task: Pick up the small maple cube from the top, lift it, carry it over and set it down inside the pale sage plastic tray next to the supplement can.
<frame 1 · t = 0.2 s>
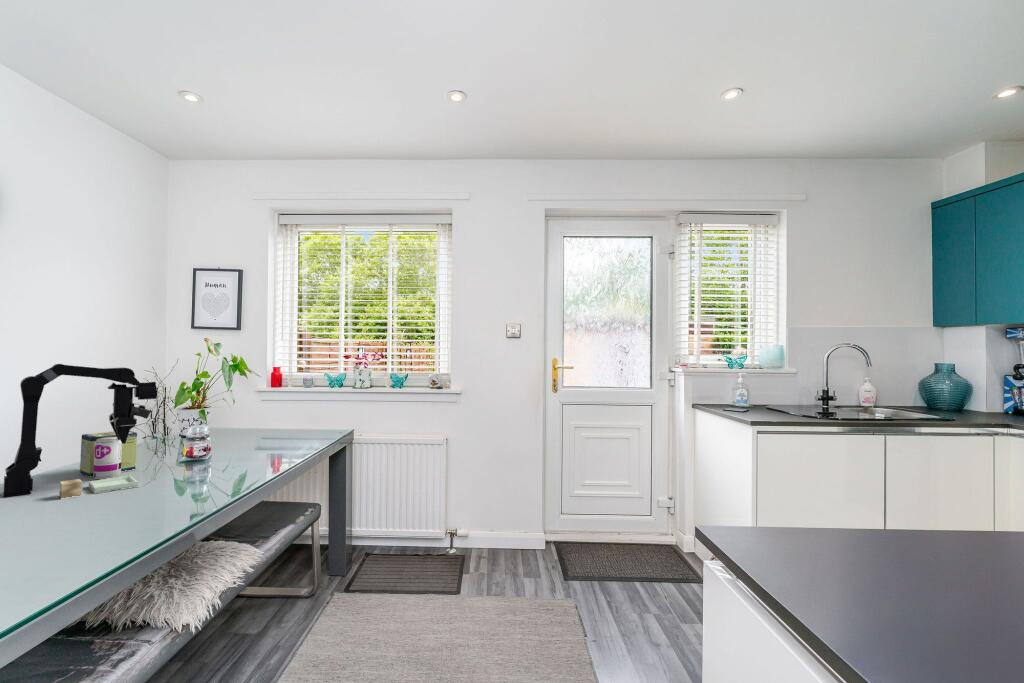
hand: (121, 441, 187), 15 cm above the table, tool pointing down, fingers open, 9 cm apart
protein box: (108, 472, 199), on the table
maple cube: (70, 496, 166), on the table
tray: (113, 487, 177), on the table
supplement can: (107, 477, 190), on the table, touching gripper
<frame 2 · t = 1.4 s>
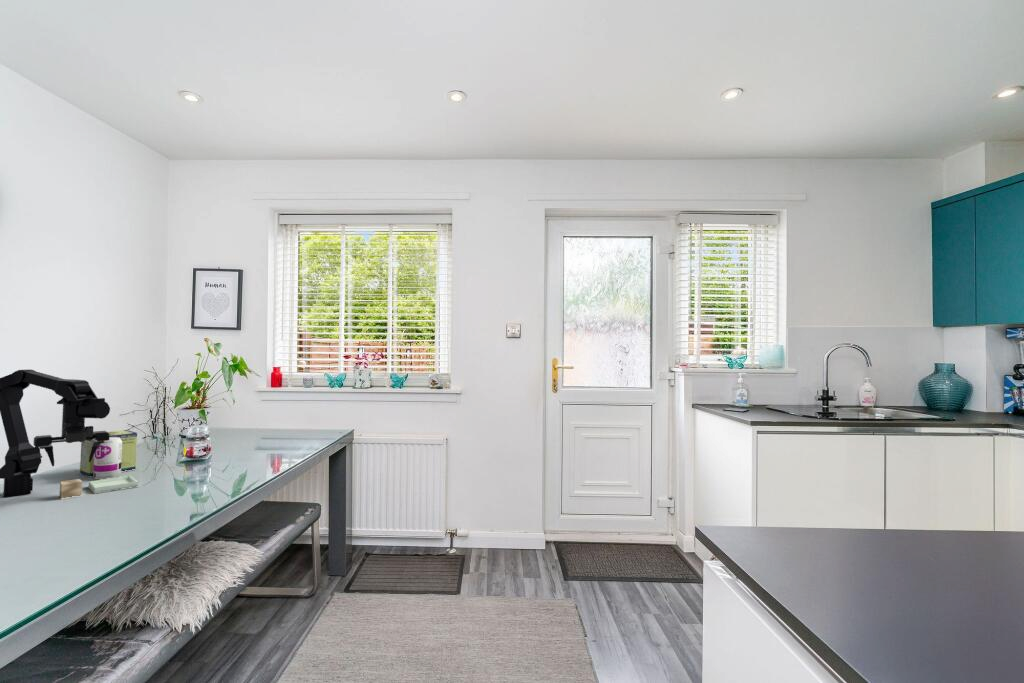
hand: (71, 464, 166), 11 cm above the table, tool pointing down, fingers open, 9 cm apart
supplement can: (107, 478, 190), on the table
everything else where it was.
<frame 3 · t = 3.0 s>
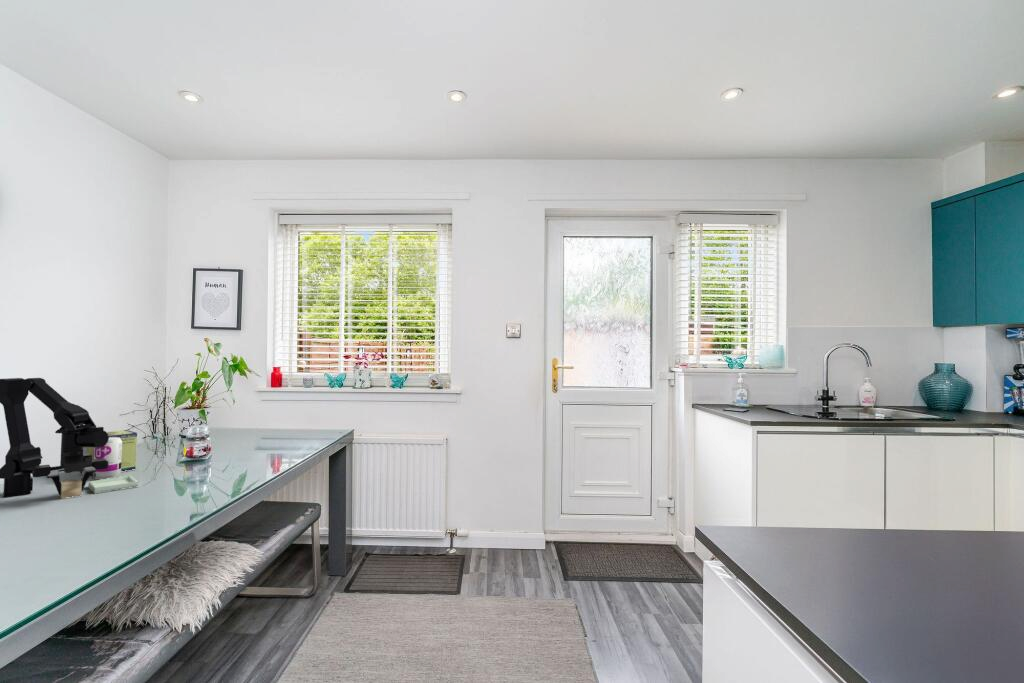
hand: (70, 493, 166), 1 cm above the table, tool pointing down, fingers closed on maple cube, 5 cm apart
maple cube: (70, 496, 166), on the table, touching gripper
everything else where it was.
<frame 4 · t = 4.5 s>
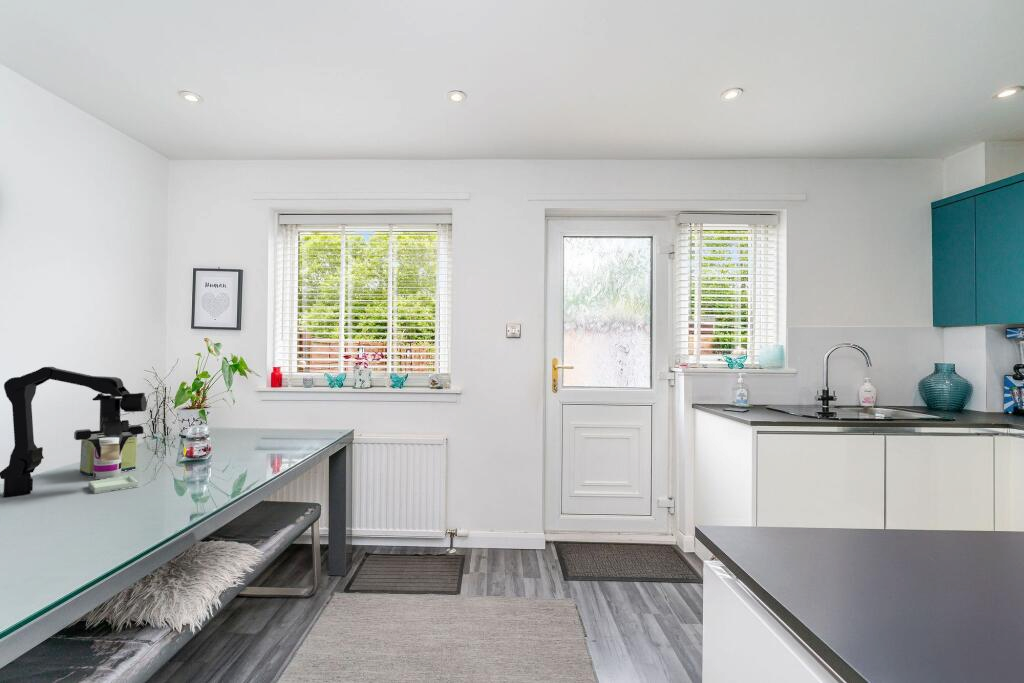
hand: (109, 456, 176), 11 cm above the table, tool pointing down, fingers closed on maple cube, 5 cm apart
maple cube: (109, 459, 175), point 10 cm above the table, touching gripper
everything else where it was.
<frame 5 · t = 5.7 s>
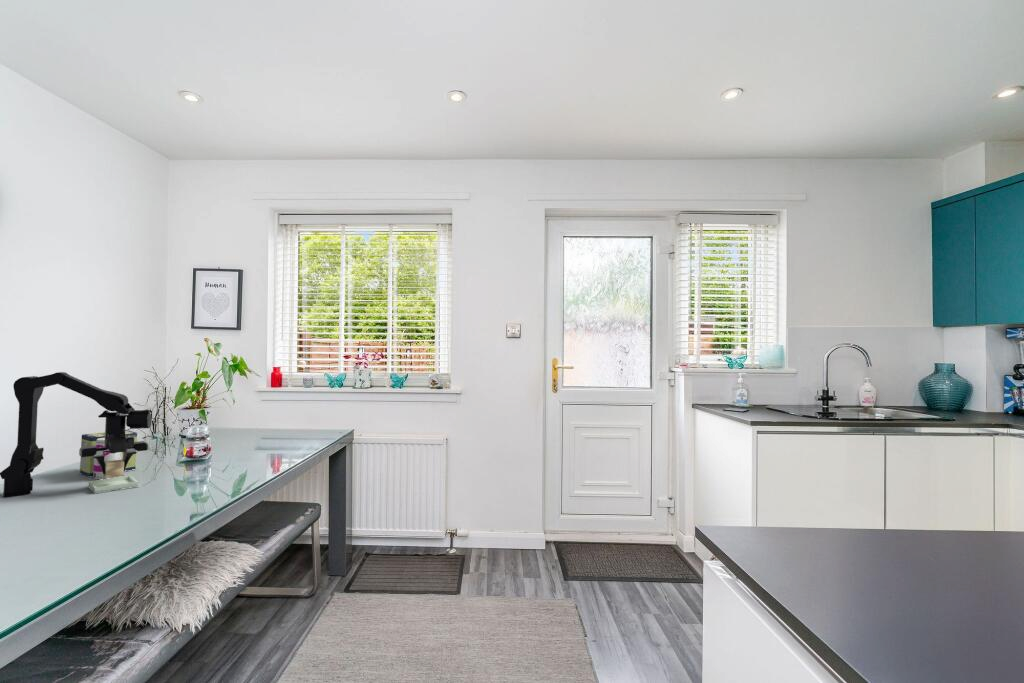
hand: (113, 472, 177), 5 cm above the table, tool pointing down, fingers closed on maple cube, 5 cm apart
maple cube: (113, 475, 177), point 4 cm above the table, touching gripper
everything else where it was.
when the fingers open (3 cm above the table, at t = 6.5 s): maple cube drops 1 cm, resting on tray.
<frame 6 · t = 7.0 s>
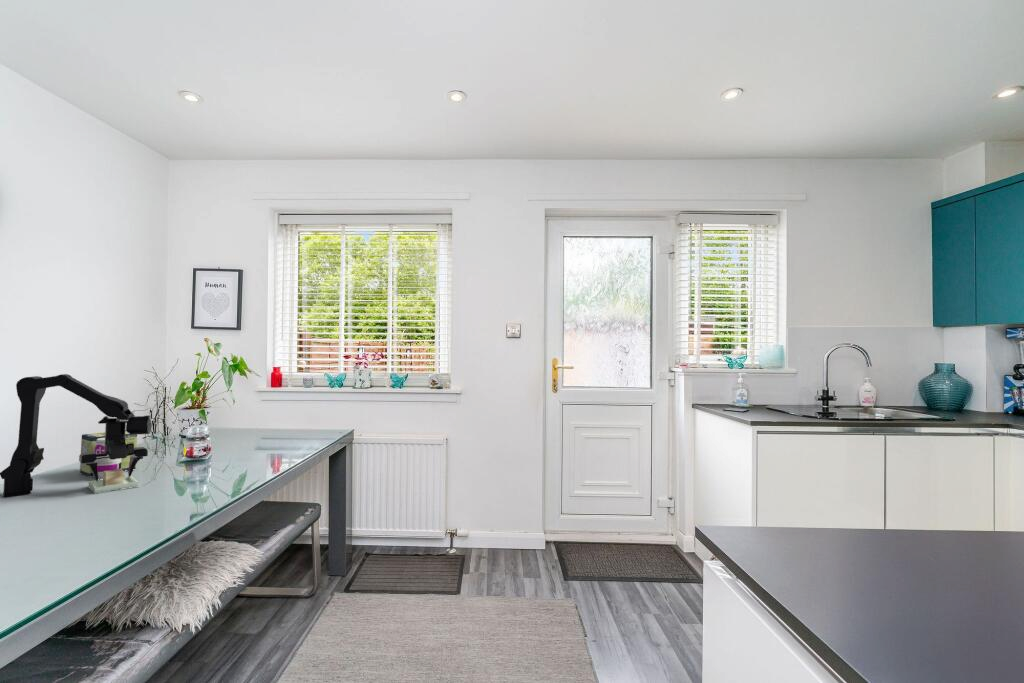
hand: (113, 478, 177), 3 cm above the table, tool pointing down, fingers open, 9 cm apart
maple cube: (113, 484, 177), point 1 cm above the table, touching tray
everything else where it was.
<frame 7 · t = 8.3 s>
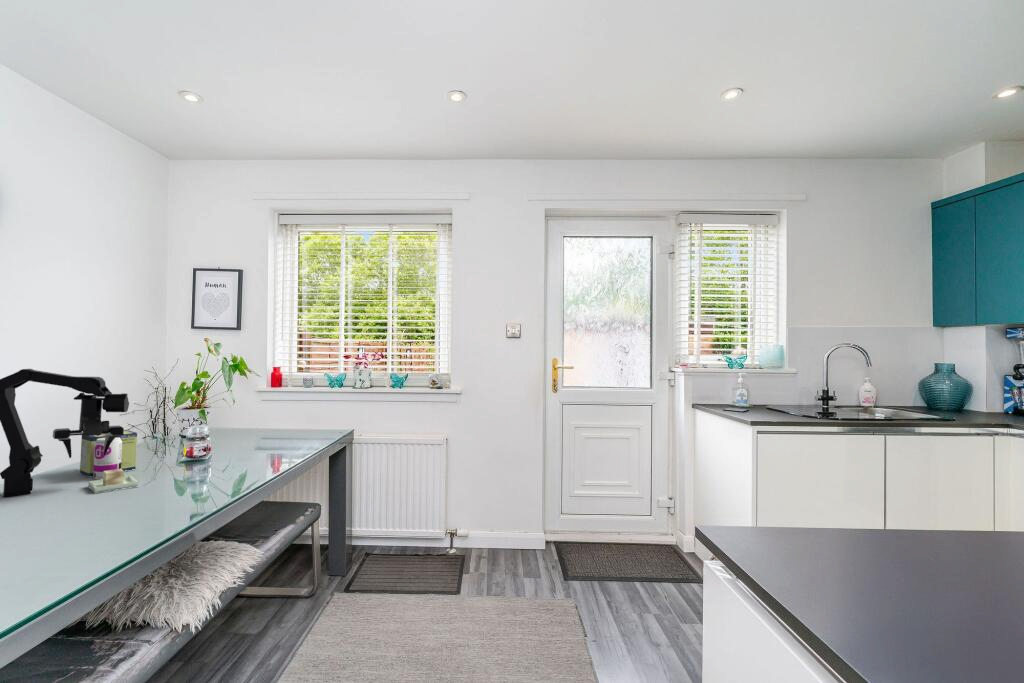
hand: (87, 456, 175), 11 cm above the table, tool pointing down, fingers open, 9 cm apart
nothing on the table moved.
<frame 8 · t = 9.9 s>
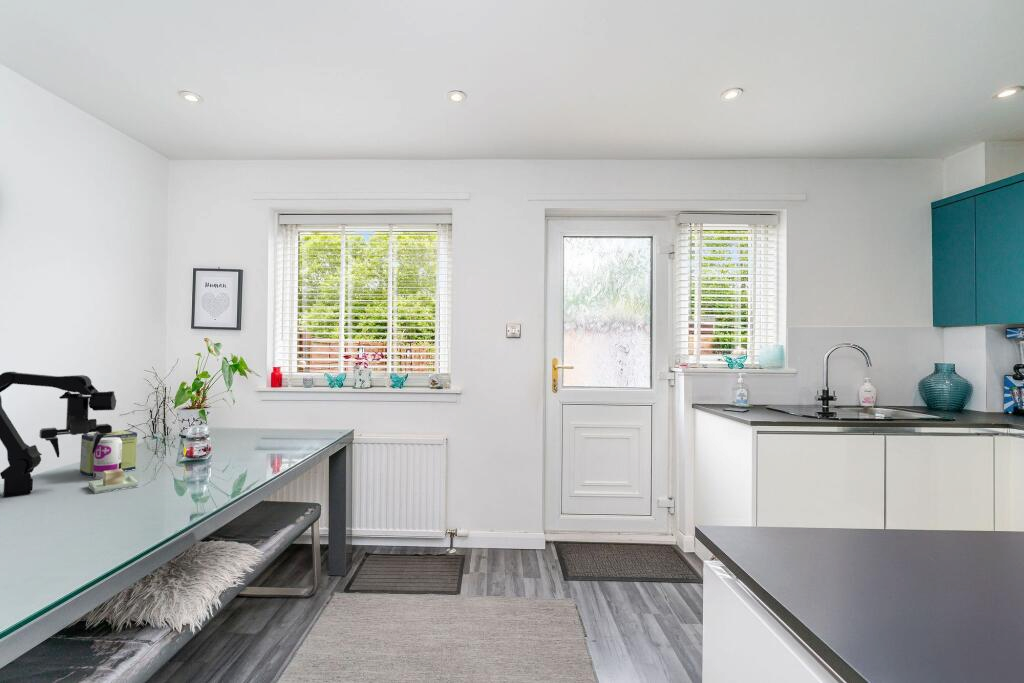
hand: (75, 455, 173), 12 cm above the table, tool pointing down, fingers open, 9 cm apart
nothing on the table moved.
at the end: maple cube inside the target area on the tray (0.1 cm from its centre), point 0.8 cm above the tray's base; maple cube tilted 0°; the gripper is holding nothing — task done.
